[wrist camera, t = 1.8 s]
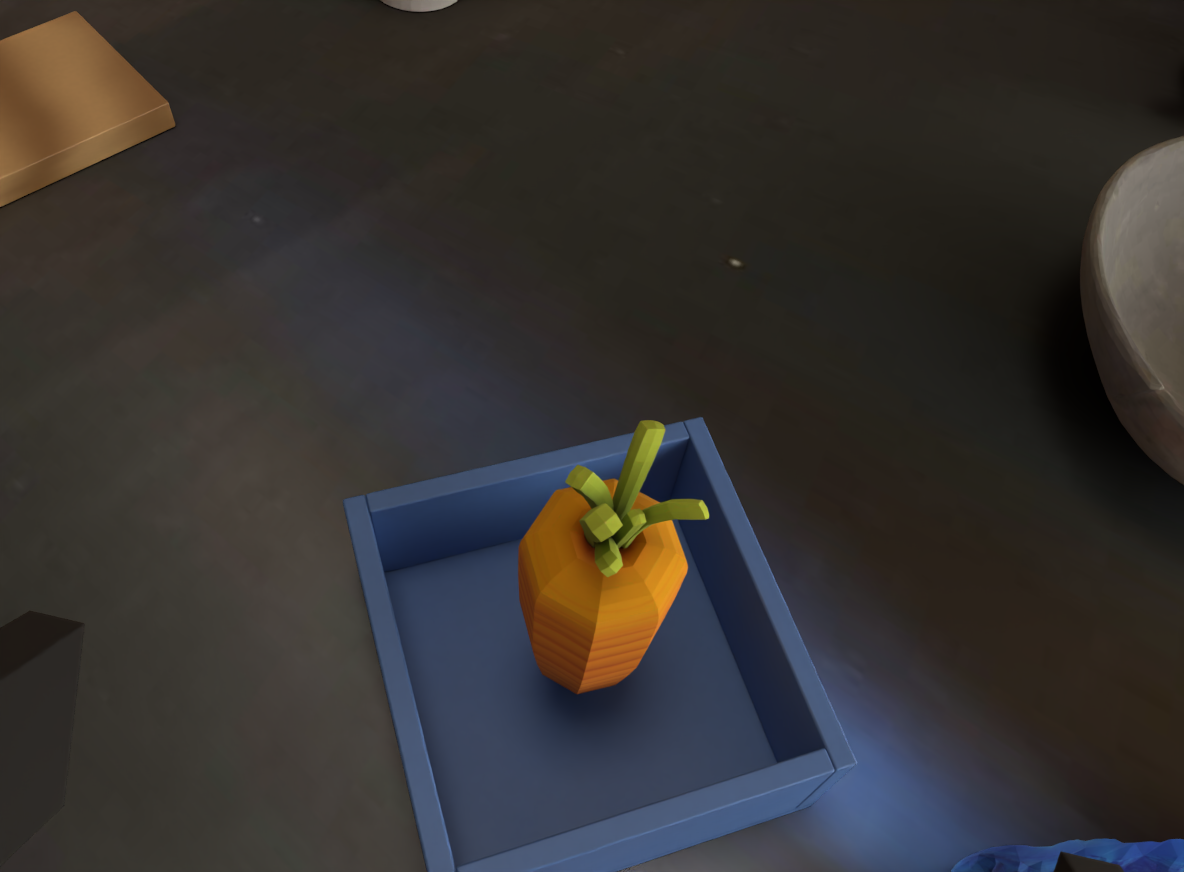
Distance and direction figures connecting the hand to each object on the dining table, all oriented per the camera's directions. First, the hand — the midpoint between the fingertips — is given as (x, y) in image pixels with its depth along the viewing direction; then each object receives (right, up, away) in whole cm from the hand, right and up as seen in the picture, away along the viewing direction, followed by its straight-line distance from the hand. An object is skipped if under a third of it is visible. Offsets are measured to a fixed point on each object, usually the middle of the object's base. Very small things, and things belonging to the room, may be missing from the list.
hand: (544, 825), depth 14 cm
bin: (0, -4, +25) cm, 26 cm away
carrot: (0, -4, +25) cm, 25 cm away
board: (-28, +21, +38) cm, 52 cm away
